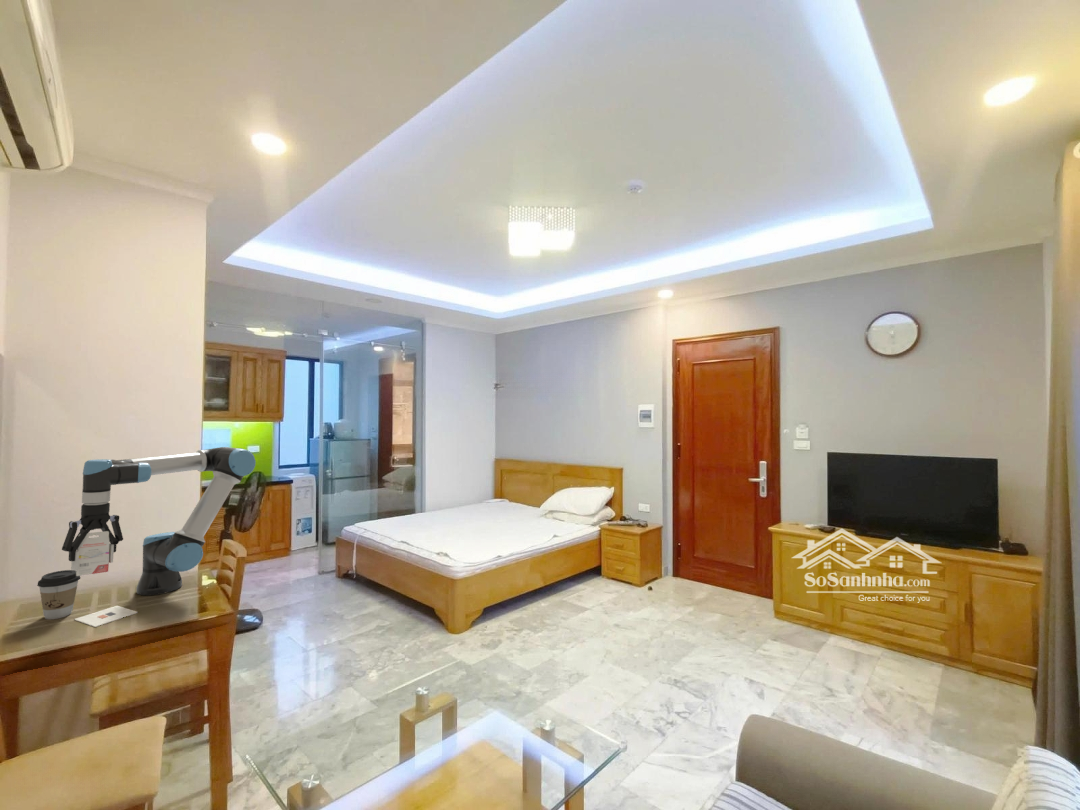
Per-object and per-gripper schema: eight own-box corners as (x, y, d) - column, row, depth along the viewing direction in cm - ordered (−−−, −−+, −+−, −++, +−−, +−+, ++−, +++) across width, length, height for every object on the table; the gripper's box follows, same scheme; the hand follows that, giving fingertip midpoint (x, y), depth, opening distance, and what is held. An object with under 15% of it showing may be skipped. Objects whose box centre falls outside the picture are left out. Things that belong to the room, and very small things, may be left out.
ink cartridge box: (108, 568, 179) (110, 528, 179) (108, 572, 175) (110, 531, 175) (76, 572, 173) (78, 531, 173) (75, 576, 169) (77, 534, 169)
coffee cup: (31, 624, 170) (32, 581, 170) (42, 612, 180) (43, 571, 180) (75, 617, 176) (76, 576, 176) (83, 606, 186) (84, 567, 186)
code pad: (117, 606, 187) (117, 605, 187) (137, 612, 182) (137, 611, 182) (74, 619, 175) (74, 618, 175) (95, 627, 170) (95, 626, 170)
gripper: (125, 497, 186) (122, 556, 186) (49, 506, 165) (46, 573, 165) (137, 499, 183) (134, 559, 183) (61, 509, 163) (58, 576, 162)
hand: (92, 565), depth 174 cm, fingers closed on ink cartridge box, 9 cm apart
